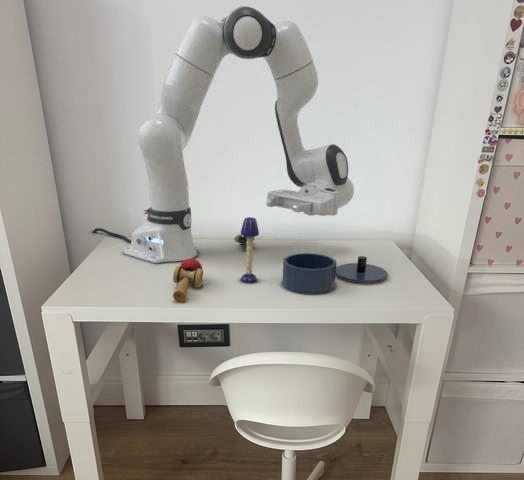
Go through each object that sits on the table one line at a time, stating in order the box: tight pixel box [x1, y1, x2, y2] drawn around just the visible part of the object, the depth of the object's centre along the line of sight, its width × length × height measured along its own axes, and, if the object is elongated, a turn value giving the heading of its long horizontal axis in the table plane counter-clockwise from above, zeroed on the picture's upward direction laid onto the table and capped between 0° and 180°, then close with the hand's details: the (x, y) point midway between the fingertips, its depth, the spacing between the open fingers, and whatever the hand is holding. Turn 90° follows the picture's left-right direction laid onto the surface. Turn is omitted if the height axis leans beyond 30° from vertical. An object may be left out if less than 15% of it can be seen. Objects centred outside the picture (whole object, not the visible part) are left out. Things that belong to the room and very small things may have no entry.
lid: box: [336, 255, 389, 284], centre depth 138 cm, size 15×15×5 cm
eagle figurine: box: [234, 233, 257, 252], centre depth 159 cm, size 8×7×9 cm
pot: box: [282, 252, 338, 295], centre depth 130 cm, size 14×14×6 cm
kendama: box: [172, 258, 204, 303], centre depth 126 cm, size 8×6×18 cm
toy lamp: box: [240, 216, 260, 284], centre depth 130 cm, size 5×5×17 cm
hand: (281, 206), depth 133 cm, fingers open, 8 cm apart
